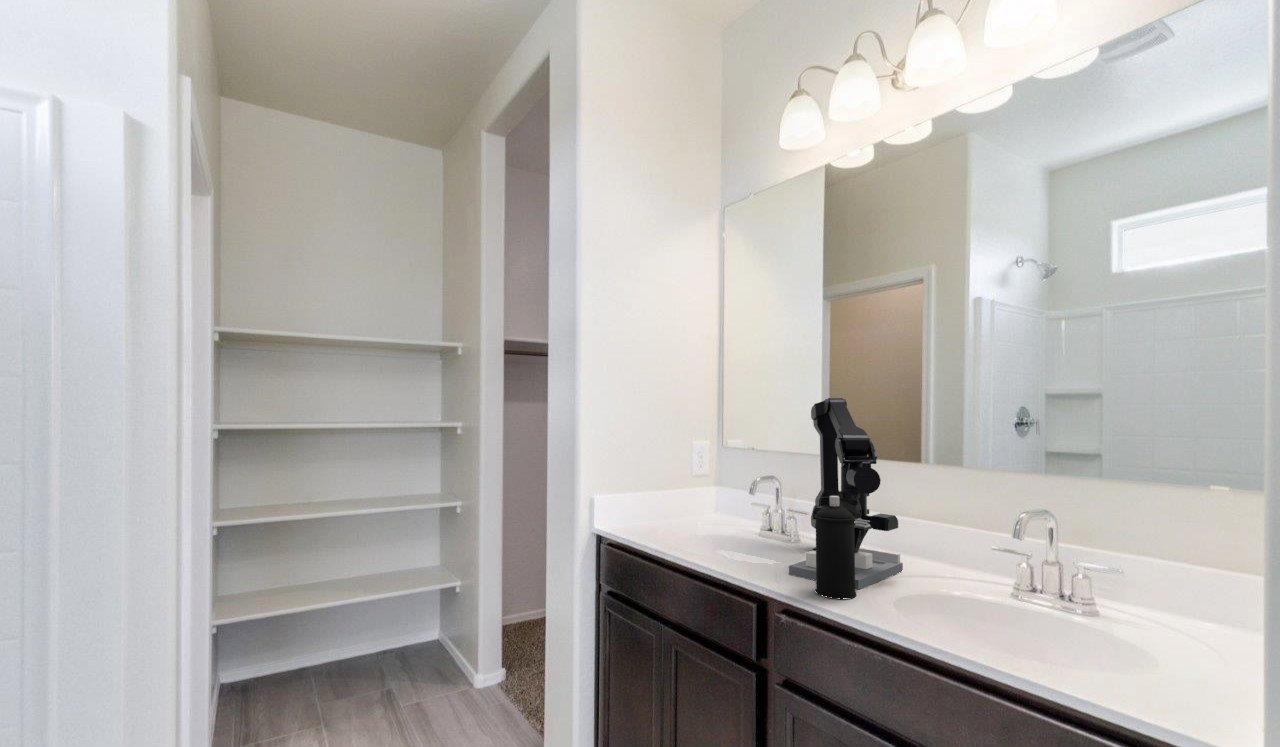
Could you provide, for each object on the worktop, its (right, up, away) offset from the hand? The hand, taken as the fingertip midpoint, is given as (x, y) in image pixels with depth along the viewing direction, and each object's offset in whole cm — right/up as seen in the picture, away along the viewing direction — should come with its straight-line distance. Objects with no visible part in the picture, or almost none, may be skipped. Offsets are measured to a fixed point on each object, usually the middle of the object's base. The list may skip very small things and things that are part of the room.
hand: (853, 555), depth 146 cm
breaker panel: (-1, -5, +1) cm, 5 cm away
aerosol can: (-9, -4, -15) cm, 18 cm away
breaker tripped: (+2, -2, -2) cm, 3 cm away
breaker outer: (-9, -2, -1) cm, 9 cm away
